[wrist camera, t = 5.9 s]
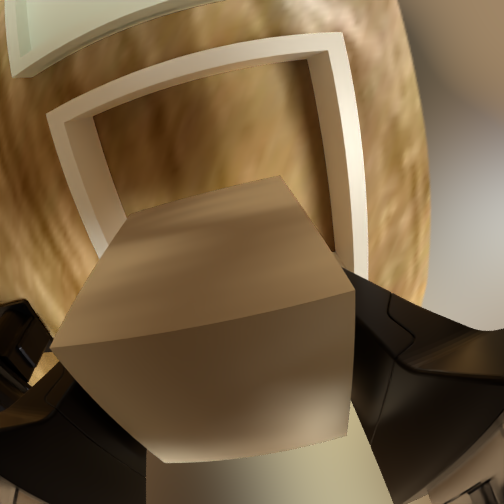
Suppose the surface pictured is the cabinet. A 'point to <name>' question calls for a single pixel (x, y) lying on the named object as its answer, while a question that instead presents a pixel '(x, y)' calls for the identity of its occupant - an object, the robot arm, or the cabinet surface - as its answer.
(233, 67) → the white square frame
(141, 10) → the sage tray
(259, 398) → the birch block
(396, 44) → the cabinet surface
